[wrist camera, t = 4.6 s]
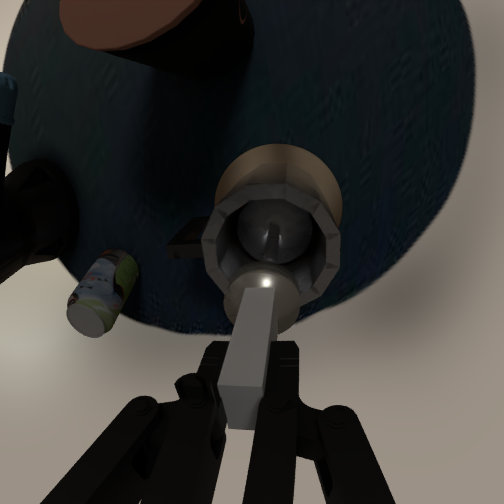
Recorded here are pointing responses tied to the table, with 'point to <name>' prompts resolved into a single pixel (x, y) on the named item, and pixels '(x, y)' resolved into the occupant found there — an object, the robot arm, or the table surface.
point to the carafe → (228, 243)
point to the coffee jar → (164, 32)
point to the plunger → (270, 255)
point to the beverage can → (102, 293)
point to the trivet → (279, 155)
